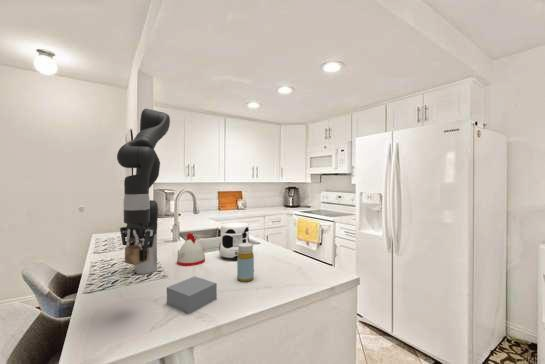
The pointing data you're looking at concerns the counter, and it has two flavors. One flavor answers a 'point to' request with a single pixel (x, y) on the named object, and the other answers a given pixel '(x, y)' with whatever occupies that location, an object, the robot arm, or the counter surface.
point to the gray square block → (191, 294)
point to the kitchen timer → (190, 252)
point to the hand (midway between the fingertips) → (137, 259)
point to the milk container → (233, 238)
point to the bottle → (245, 262)
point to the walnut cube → (134, 255)
